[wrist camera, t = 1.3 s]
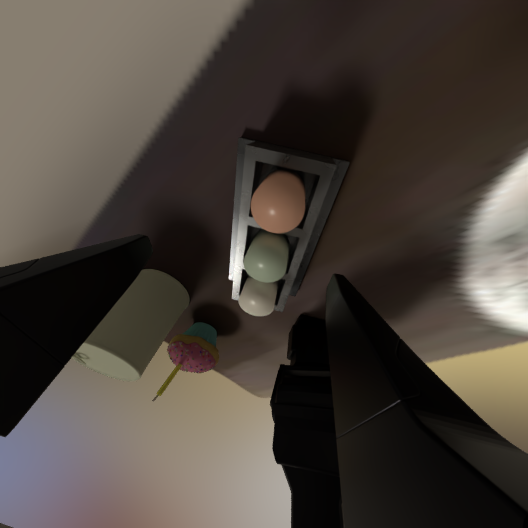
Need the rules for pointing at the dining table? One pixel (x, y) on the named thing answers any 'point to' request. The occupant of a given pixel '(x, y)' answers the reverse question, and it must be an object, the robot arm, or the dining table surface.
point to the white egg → (258, 297)
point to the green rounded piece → (267, 256)
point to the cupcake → (193, 351)
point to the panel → (316, 212)
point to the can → (134, 327)
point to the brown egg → (279, 201)
